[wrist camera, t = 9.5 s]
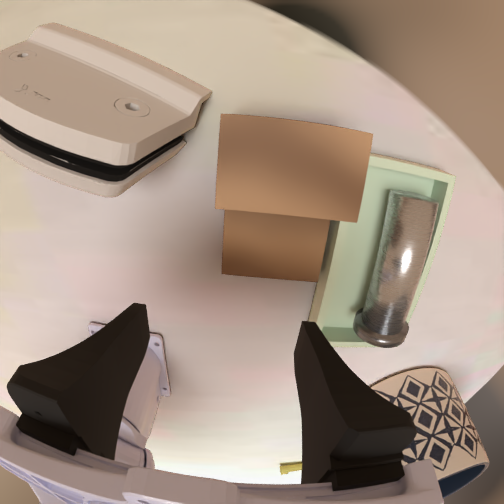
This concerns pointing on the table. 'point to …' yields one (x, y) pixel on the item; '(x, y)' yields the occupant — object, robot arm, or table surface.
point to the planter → (437, 426)
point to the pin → (397, 269)
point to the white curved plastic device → (91, 110)
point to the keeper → (285, 192)
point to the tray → (371, 245)
